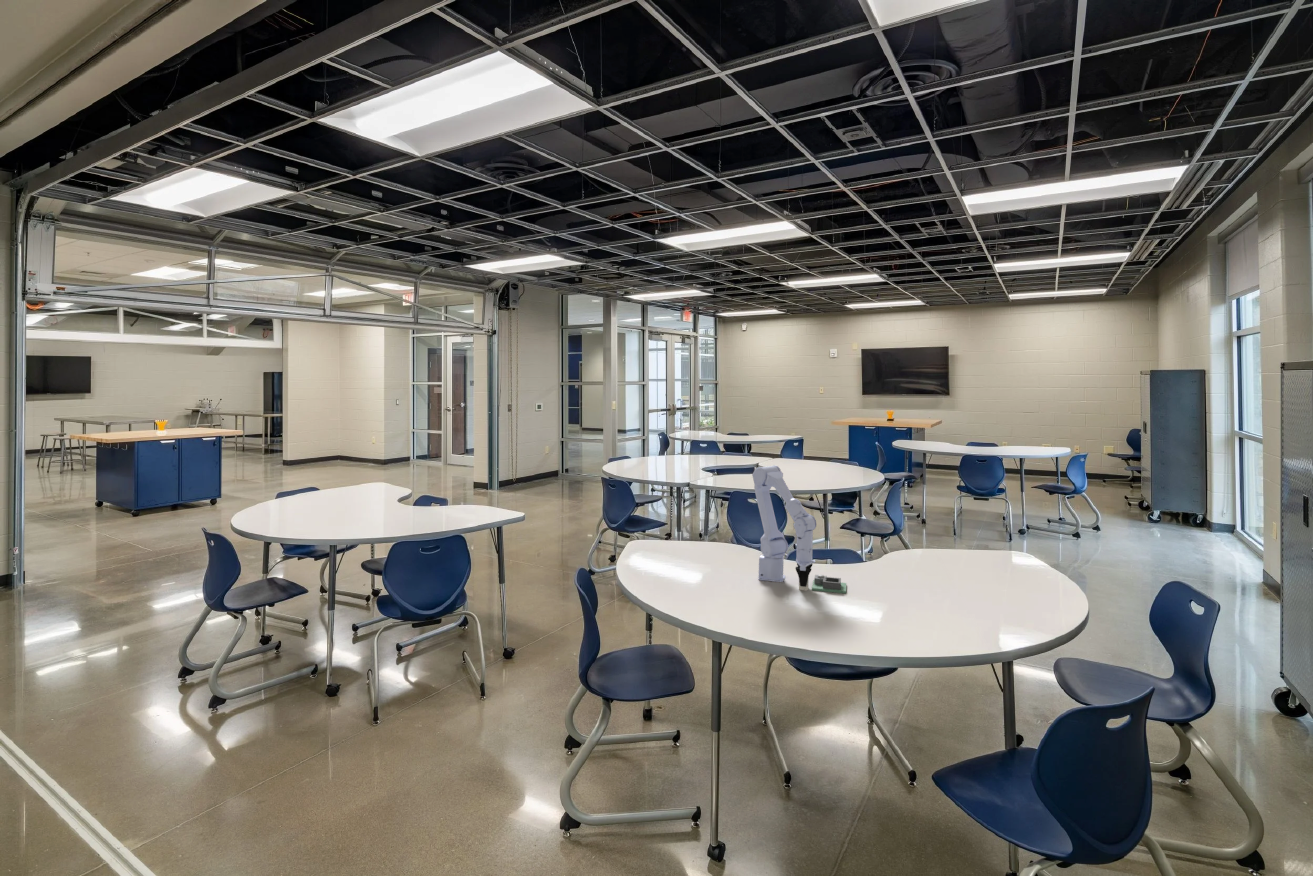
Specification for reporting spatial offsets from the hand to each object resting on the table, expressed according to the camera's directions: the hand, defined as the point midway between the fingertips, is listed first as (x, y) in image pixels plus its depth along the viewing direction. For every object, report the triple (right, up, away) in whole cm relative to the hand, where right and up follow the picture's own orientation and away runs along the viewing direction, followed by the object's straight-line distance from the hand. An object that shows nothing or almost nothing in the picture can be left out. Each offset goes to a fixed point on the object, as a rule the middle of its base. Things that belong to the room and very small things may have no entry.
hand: (803, 584), depth 228 cm
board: (+10, -2, +1) cm, 10 cm away
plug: (0, -2, 0) cm, 2 cm away
